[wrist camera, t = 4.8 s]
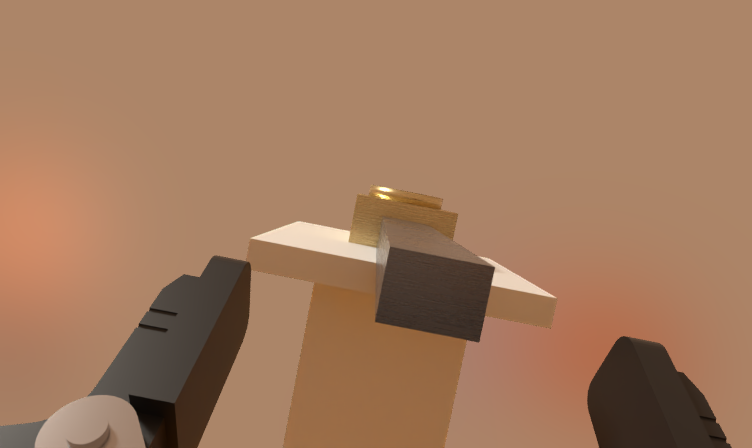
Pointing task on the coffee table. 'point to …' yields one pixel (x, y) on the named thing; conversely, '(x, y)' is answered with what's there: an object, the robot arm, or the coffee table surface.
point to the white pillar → (372, 346)
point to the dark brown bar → (421, 264)
